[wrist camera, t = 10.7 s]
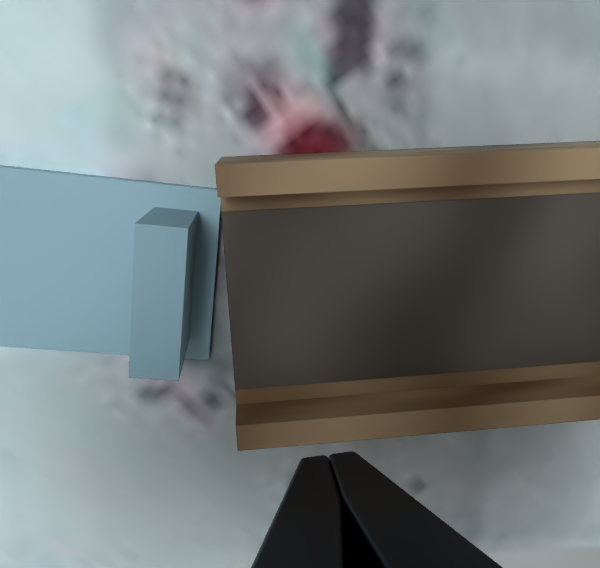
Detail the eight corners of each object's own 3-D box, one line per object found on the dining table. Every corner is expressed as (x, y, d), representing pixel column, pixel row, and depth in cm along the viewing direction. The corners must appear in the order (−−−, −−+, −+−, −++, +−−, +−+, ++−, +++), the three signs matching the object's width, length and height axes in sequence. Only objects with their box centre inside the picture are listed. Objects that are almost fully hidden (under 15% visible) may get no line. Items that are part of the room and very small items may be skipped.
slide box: (650, 138, 20) (754, 140, 16) (620, 359, 23) (702, 410, 19) (222, 157, 19) (214, 164, 15) (239, 389, 21) (238, 450, 17)
